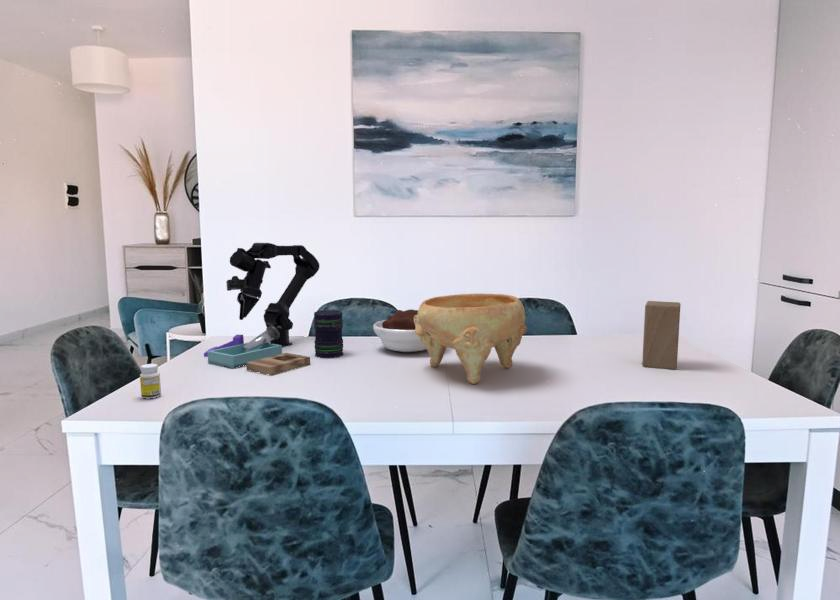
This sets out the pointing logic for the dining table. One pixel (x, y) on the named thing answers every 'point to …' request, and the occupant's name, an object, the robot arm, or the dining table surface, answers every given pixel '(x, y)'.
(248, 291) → the robot arm
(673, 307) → the wooden block
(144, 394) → the supplement bottle
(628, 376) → the dining table surface
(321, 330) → the storage jar
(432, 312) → the decorative bowl
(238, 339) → the bracket
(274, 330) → the pin
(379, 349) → the dining table surface
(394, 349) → the white bowl of pudding
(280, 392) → the dining table surface
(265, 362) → the block
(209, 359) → the tray
